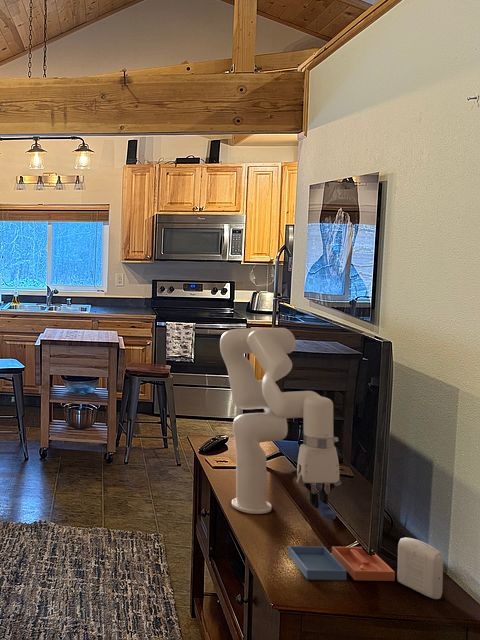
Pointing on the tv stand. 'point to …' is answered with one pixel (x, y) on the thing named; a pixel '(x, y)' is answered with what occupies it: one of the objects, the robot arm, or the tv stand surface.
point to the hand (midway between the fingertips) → (318, 505)
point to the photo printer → (420, 567)
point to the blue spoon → (325, 510)
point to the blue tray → (317, 563)
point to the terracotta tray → (355, 570)
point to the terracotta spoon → (361, 561)
